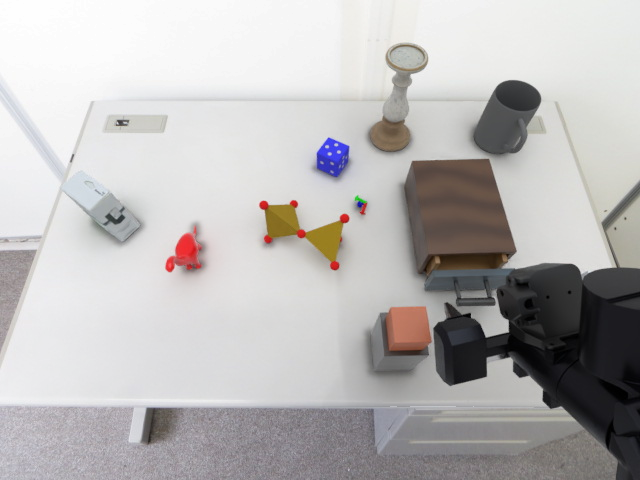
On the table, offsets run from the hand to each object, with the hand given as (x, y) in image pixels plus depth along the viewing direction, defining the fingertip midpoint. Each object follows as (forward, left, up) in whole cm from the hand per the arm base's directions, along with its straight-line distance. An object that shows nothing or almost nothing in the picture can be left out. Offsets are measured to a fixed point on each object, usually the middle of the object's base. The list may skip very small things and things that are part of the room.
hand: (481, 297), depth 45 cm
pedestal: (+1, +8, -21) cm, 22 cm away
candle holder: (+43, -14, -21) cm, 50 cm away
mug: (+31, -34, -21) cm, 51 cm away
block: (+1, +8, -8) cm, 12 cm away
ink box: (+45, +46, -21) cm, 67 cm away
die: (+41, +1, -21) cm, 46 cm away
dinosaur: (+31, +34, -21) cm, 50 cm away
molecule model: (+28, +11, -21) cm, 36 cm away
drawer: (+12, -11, -20) cm, 26 cm away
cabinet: (+18, -14, -21) cm, 30 cm away
